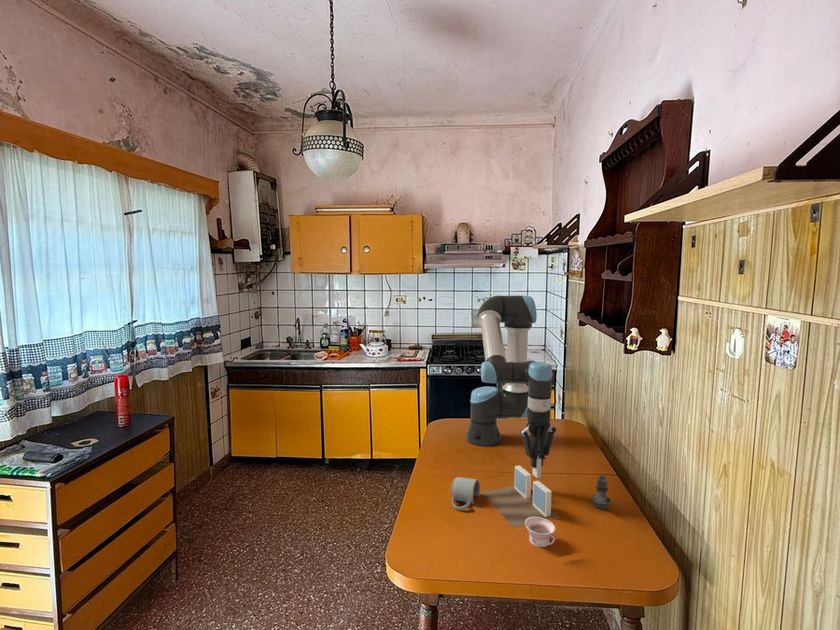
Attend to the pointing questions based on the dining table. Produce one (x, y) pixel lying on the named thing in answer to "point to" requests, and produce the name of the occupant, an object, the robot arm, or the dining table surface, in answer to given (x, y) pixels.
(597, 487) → the grey stone finial
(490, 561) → the dining table surface
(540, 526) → the teacup
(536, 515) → the walnut board
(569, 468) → the dining table surface
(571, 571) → the dining table surface
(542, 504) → the tile
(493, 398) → the robot arm
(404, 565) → the dining table surface
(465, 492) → the ceramic mug
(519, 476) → the tile
